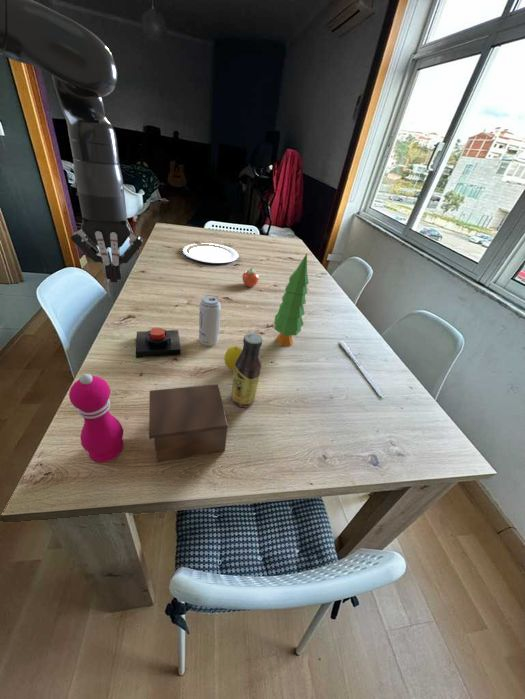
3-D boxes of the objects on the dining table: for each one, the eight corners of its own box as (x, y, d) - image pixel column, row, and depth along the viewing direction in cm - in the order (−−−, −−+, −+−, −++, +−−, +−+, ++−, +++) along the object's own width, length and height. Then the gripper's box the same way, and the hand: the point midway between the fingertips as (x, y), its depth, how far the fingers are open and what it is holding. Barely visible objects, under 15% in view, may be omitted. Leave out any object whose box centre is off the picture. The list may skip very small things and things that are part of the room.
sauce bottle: (228, 392, 76) (234, 328, 64) (251, 389, 78) (261, 327, 66) (233, 411, 71) (242, 346, 60) (258, 408, 73) (270, 344, 62)
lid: (149, 439, 53) (149, 436, 53) (149, 393, 62) (149, 390, 61) (227, 427, 58) (227, 425, 57) (217, 386, 66) (217, 384, 66)
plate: (246, 254, 163) (246, 250, 162) (225, 270, 140) (225, 267, 139) (198, 242, 168) (198, 239, 167) (170, 256, 144) (170, 252, 143)
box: (157, 462, 58) (154, 438, 53) (156, 417, 67) (153, 393, 62) (224, 451, 62) (227, 428, 58) (216, 410, 71) (217, 386, 66)
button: (150, 340, 83) (149, 335, 82) (150, 332, 86) (149, 327, 85) (165, 339, 84) (164, 334, 83) (164, 332, 87) (164, 327, 86)
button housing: (136, 358, 82) (134, 346, 79) (137, 337, 89) (136, 326, 87) (180, 355, 85) (180, 344, 83) (178, 335, 93) (178, 325, 90)
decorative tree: (300, 338, 102) (323, 253, 84) (294, 353, 94) (318, 263, 77) (273, 330, 103) (290, 245, 86) (266, 344, 96) (283, 254, 78)
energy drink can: (197, 336, 94) (198, 294, 85) (216, 335, 96) (218, 294, 87) (200, 348, 89) (201, 304, 80) (220, 346, 91) (223, 304, 83)
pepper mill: (87, 437, 60) (61, 363, 48) (125, 430, 63) (110, 358, 51) (84, 469, 55) (54, 394, 43) (126, 459, 58) (109, 387, 46)
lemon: (236, 361, 87) (239, 339, 82) (246, 372, 83) (249, 350, 79) (220, 366, 84) (221, 343, 79) (229, 378, 81) (231, 355, 76)
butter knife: (345, 340, 104) (338, 339, 103) (387, 396, 83) (378, 396, 82) (345, 341, 104) (337, 341, 103) (386, 397, 84) (377, 397, 83)
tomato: (260, 285, 132) (263, 268, 127) (252, 290, 127) (255, 273, 122) (246, 280, 134) (248, 263, 130) (238, 285, 129) (239, 268, 124)
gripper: (141, 191, 57) (148, 274, 67) (63, 181, 53) (82, 272, 63) (140, 198, 52) (147, 289, 62) (52, 189, 47) (75, 287, 57)
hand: (114, 280), depth 62 cm, fingers closed
